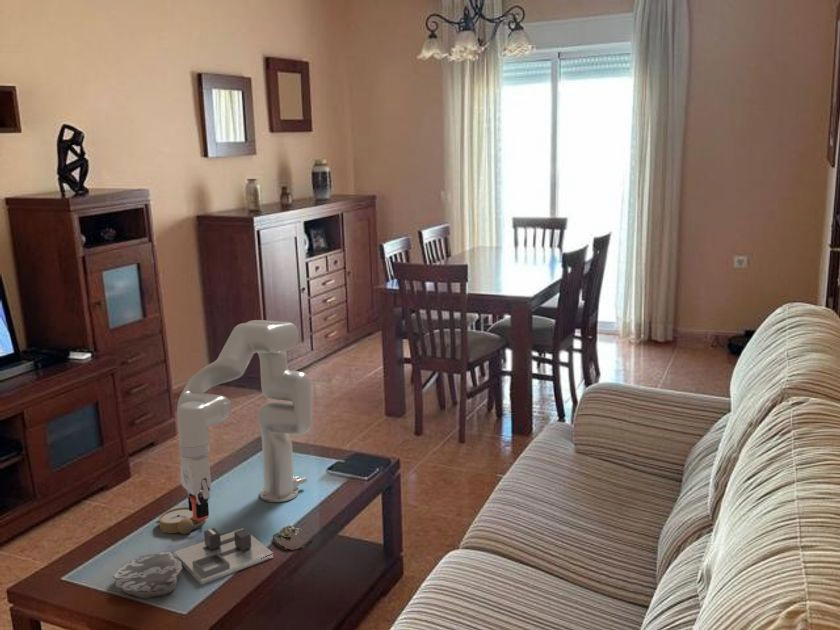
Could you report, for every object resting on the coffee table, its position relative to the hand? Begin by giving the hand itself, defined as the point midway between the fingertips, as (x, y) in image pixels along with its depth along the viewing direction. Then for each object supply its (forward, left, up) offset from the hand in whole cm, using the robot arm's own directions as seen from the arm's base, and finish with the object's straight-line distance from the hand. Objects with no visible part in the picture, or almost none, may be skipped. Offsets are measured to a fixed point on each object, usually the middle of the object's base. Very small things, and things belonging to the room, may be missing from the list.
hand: (198, 512), depth 201 cm
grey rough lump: (-26, +4, -16) cm, 31 cm away
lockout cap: (-1, 0, -2) cm, 2 cm away
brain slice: (+14, -1, -16) cm, 22 cm away
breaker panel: (-6, 0, -16) cm, 17 cm away
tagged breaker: (-6, -5, -14) cm, 16 cm away
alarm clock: (-5, -25, -16) cm, 30 cm away
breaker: (-12, +1, -14) cm, 18 cm away
